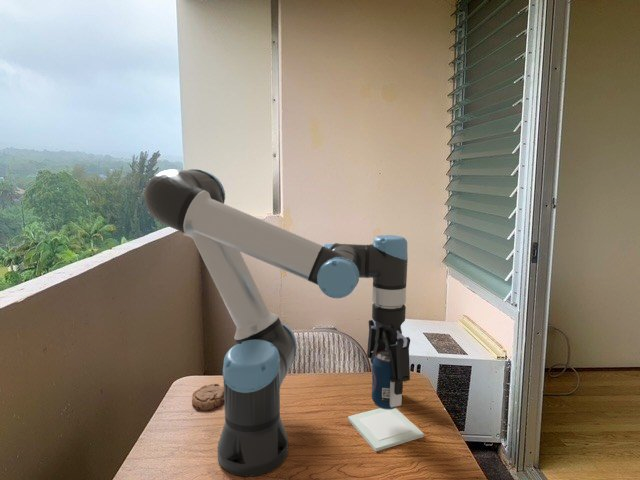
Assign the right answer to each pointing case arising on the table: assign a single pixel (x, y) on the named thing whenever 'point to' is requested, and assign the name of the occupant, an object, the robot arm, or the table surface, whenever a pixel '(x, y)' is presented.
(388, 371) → the soda can
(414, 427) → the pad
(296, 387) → the table surface
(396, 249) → the robot arm
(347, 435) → the table surface
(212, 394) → the cookie
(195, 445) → the table surface
